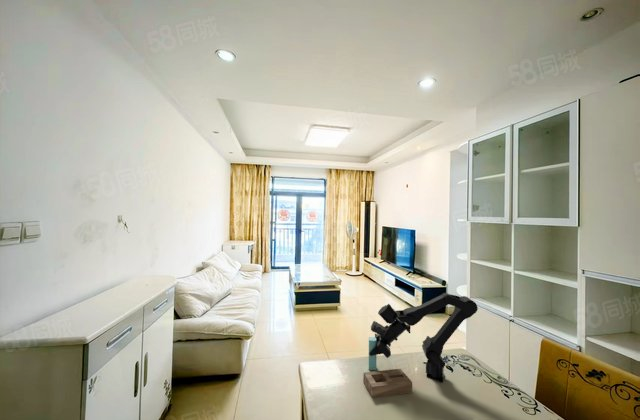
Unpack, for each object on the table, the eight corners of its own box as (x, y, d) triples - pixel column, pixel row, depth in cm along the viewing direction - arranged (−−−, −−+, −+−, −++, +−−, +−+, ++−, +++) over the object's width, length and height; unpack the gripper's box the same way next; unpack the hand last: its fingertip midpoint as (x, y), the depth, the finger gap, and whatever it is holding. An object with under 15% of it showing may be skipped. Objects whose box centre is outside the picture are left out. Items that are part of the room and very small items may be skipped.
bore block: (412, 392, 96) (412, 382, 96) (371, 397, 93) (372, 386, 93) (400, 378, 105) (400, 368, 105) (363, 382, 101) (363, 372, 102)
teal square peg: (375, 366, 113) (376, 337, 114) (376, 370, 110) (376, 341, 110) (368, 365, 114) (368, 336, 114) (368, 369, 110) (368, 340, 111)
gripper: (379, 309, 121) (357, 330, 123) (382, 325, 103) (356, 349, 104) (396, 327, 120) (373, 347, 121) (402, 346, 101) (375, 370, 103)
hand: (369, 352), depth 112 cm, fingers closed on teal square peg, 3 cm apart
